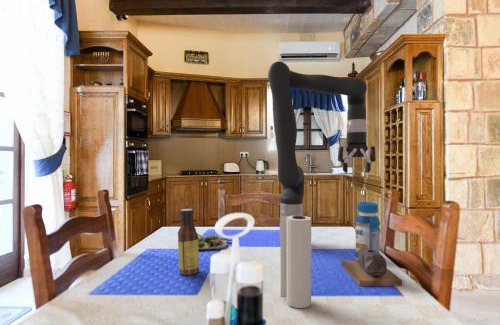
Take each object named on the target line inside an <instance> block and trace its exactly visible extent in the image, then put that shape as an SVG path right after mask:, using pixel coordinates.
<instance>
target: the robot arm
mask: <svg viewBox="0 0 500 325" xmlns="http://www.w3.org/2000/svg"><path fill="white" fill-rule="evenodd" d="M267 78H268V81H269V82H268V83H269V85H270V86H269V87H270V90H271V96H272V97H271V98H272V99H271V100H272V117H273V121H272V122H273V128H274V136H275V143H276V144H275V145H276V149H277V150H276V152H277V176H278V181H279V183H280V184H281V185H282V192H281V195H280V198H279V201H280V205H279V206H280V207H279V208H280V209H279V210H280V217H279V244H280V245H281V216H304V213H303V208H304V205H303V202H304V201H303V200H304V195H305V173H304V170H303V168H302V167H301V166H299V165H298V163H297V157H296V145H297V138H298V127H297V126H298V125H297V119H296V113H295V109H294V108H295V107H294V105H293V102H292V97H291V91H290V89H297V90H307V91H312V92H317V93H322V94H327V95H333V96H338V95H343V96H346V100H347V111H346V113H347V115H346V116H347V117H346V118H347V120H346V121H347V122H346V146H341V145H340V146H338V148H337V149H338V151H337V161H338V162H340V163H341V164H342V171H343V173H344V174H347V173H348V170H349V169H348V168H349V167H348V162H349V160H350V159H351V158H362V160H363V161H364V162H365V168H364V169H365V172H364V173H368V174H369V173H370V172H371V169H372V168H371V167H372V166H371V165H372V163H373V162H376V160H377V159H376V158H377V157H376V147H375V146H374V145H373V146H368V145H367V143H368V142H367V141H368V139H367V138H368V135H367V134H368V132H367V131H368V128H367V127H368V125H367V108H366V106H365V104H366V103H365V102H366V92H367V89H368V86H367V83H366V82H365V81H364V80H362V79H359V78H354V77H352V78H351V77H338V76H333V75H329V74H328V75H325V74H305V73H301V72H300V73H299V72H296V71H293V70H290V67H289V65H287V64H286V63H285V62H283V61H280V60H279V61H275V62H273V63H272V64H271V65H270V66H269V68H268V70H267ZM345 151H346V155H345V156H344V152H345ZM367 151H368V153H369V155H368V154H367V153H366V152H367ZM343 157H344V158H343Z"/></svg>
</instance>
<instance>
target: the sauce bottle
mask: <svg viewBox="0 0 500 325" xmlns="http://www.w3.org/2000/svg"><path fill="white" fill-rule="evenodd" d="M179 214H180V221H181V222H180V226H179V229H178V231H177V239H178V240H177V246H178V247H177V250H178V252H177V253H178V269H179V273H180V274H181V275H184V276H194V275H195V274H197V273H199V271H200V269H199V266H200V258H199V256H200V254H199V252H200V251H199V250H198V235H197V233H198V232H197V230H196V225H195V224H194V209H192V208H182V209H180V210H179Z"/></svg>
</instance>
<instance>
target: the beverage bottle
mask: <svg viewBox="0 0 500 325" xmlns="http://www.w3.org/2000/svg"><path fill="white" fill-rule="evenodd" d="M357 213H358V215H357V216H356V218H355V222H354V223H355V228H354V232H355V259H356V261H358V251H359V249H360V248H362V247H367V248H371V249H373V250H375V251H377V252H379V253H380V252H381V251H380V250H381V249H380V247H381V246H380V245H381V244H380V242H381V241H380V240H381V239H380V238H381V228H380V225H381V222H380V218H379V217H378V215H377V214H378V213H379V204H378V203H377V202H372V201H359V202H358V203H357ZM380 254H381V253H380Z"/></svg>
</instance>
